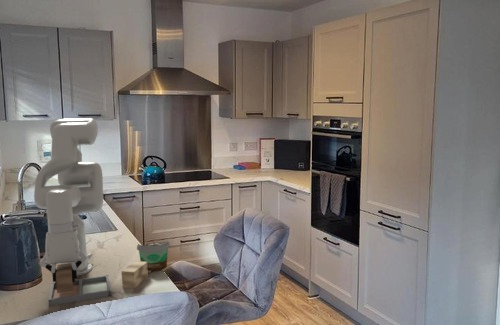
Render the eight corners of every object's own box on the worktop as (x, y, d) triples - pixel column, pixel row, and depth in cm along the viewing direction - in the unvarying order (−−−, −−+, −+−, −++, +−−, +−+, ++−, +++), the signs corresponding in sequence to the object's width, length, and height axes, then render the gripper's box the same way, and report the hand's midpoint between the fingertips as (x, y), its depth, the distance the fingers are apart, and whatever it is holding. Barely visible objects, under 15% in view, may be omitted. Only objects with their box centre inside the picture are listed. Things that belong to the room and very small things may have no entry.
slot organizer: (52, 288, 153) (51, 283, 153) (108, 280, 159) (108, 275, 159) (48, 306, 140) (48, 300, 139) (110, 296, 146) (110, 290, 145)
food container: (140, 275, 164) (139, 248, 163) (137, 269, 170) (136, 243, 168) (174, 269, 169) (172, 243, 167) (170, 264, 174) (169, 239, 173)
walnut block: (59, 282, 151) (57, 264, 150) (73, 280, 153) (72, 262, 152) (57, 293, 142) (55, 274, 141) (72, 290, 143) (71, 272, 143)
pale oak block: (136, 277, 162) (135, 261, 161) (148, 278, 161) (147, 261, 160) (122, 288, 153) (121, 271, 152) (134, 289, 152) (133, 272, 151)
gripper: (88, 222, 151) (92, 274, 153) (33, 227, 146) (38, 282, 148) (88, 227, 144) (92, 282, 146) (30, 233, 139) (35, 290, 141)
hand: (65, 281), depth 147 cm, fingers closed on walnut block, 4 cm apart
